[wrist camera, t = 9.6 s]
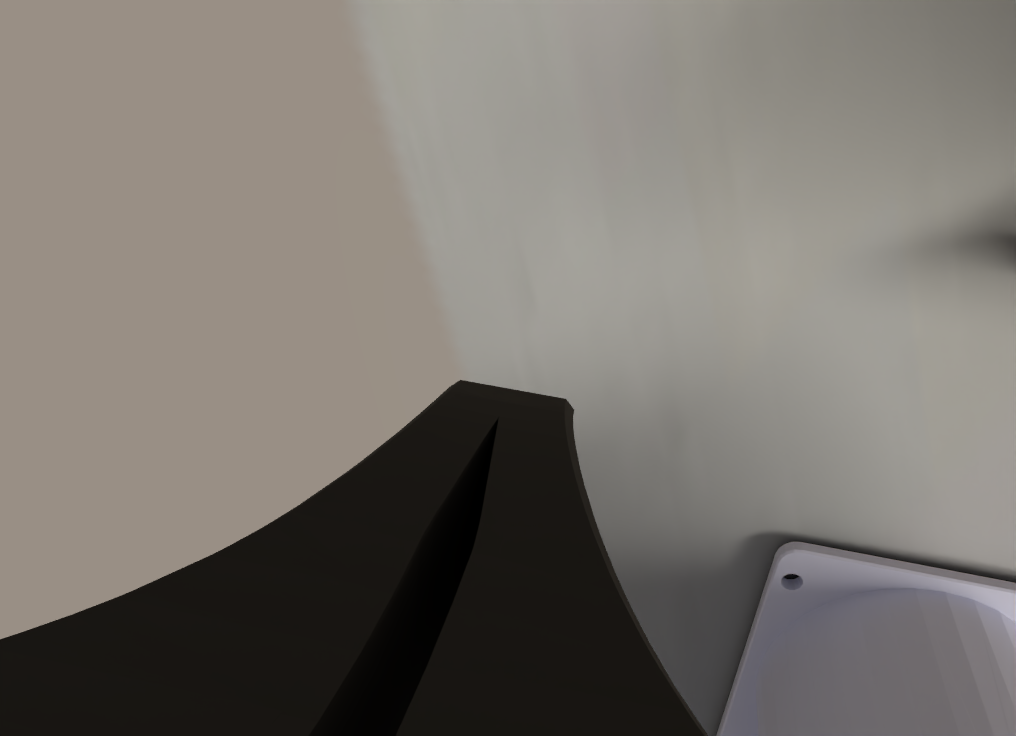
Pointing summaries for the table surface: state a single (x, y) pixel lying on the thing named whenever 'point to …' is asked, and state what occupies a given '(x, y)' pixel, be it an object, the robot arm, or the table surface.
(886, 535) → the table surface
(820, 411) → the table surface
